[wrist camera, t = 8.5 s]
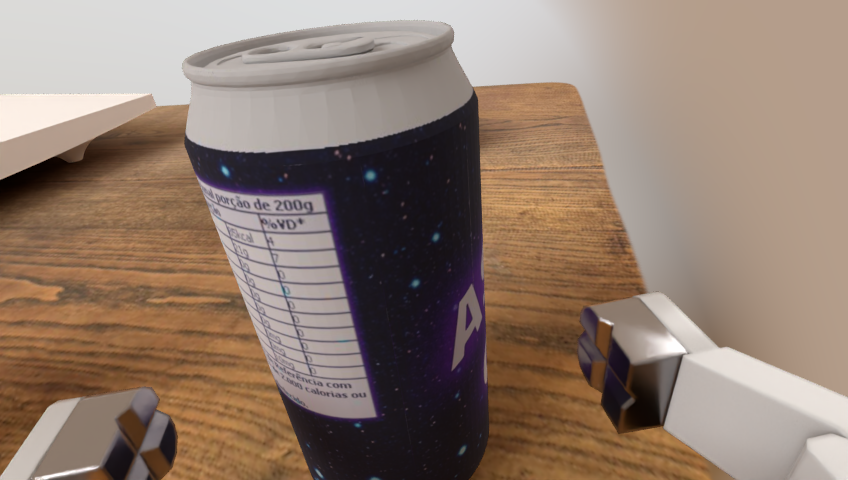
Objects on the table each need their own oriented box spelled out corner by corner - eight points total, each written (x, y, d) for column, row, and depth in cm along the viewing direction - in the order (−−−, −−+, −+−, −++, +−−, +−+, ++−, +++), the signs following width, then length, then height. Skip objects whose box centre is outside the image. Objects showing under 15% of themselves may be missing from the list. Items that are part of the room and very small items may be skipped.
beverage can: (499, 533, 12) (491, 51, 6) (290, 538, 12) (73, 91, 6) (481, 369, 17) (466, 9, 11) (331, 376, 17) (231, 33, 11)
